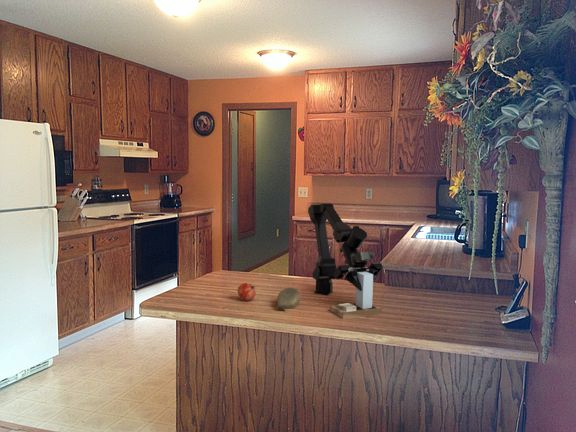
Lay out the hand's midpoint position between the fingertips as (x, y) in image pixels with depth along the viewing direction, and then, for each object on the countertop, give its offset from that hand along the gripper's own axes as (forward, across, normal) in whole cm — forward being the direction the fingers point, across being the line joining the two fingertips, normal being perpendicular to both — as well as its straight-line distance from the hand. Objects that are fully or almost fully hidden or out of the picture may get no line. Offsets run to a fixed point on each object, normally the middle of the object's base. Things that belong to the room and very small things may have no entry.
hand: (366, 289), depth 176 cm
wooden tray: (+6, -4, +8) cm, 10 cm away
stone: (-7, -23, +21) cm, 32 cm away
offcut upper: (+4, -7, +6) cm, 10 cm away
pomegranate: (-17, -36, +31) cm, 50 cm away
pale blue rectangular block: (+4, 0, +6) cm, 7 cm away
